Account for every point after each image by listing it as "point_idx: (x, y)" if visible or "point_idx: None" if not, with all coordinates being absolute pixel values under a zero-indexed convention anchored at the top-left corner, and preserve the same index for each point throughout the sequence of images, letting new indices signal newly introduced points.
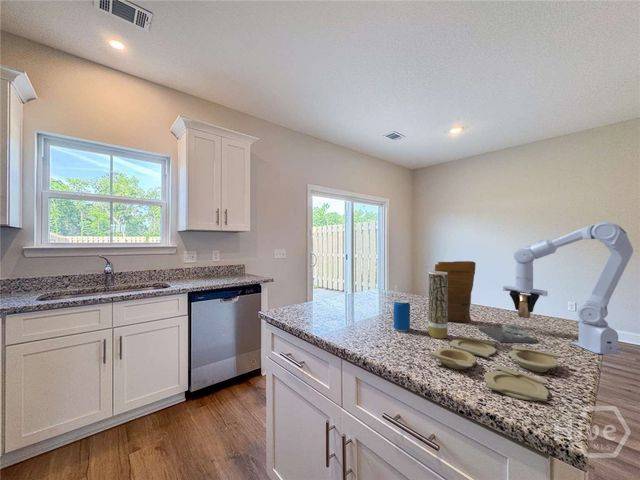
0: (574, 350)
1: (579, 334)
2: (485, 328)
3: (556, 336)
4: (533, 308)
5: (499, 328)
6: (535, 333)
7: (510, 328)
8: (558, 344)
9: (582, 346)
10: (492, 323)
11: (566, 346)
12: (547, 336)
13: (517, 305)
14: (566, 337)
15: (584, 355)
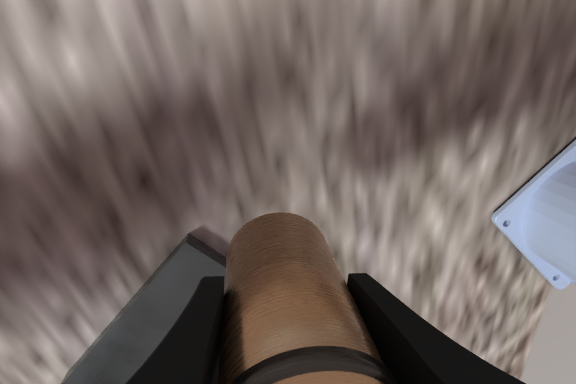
0: (483, 306)
1: (573, 267)
2: (99, 375)
3: (434, 133)
4: (391, 296)
5: (152, 312)
6: (327, 172)
7: (198, 257)
8: (433, 279)
9: (527, 255)
10: (19, 157)
11: (461, 279)
12: (390, 180)
13: (217, 373)
14: (485, 104)
15: (505, 333)
